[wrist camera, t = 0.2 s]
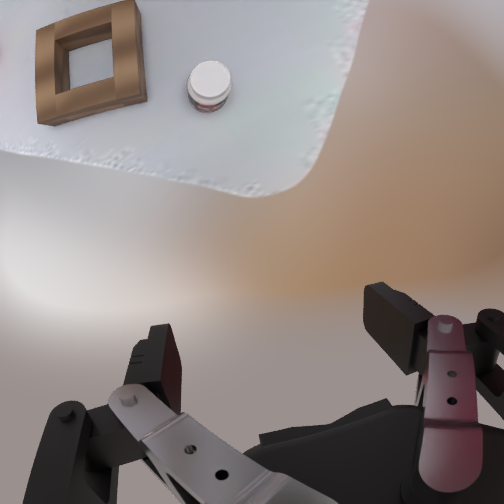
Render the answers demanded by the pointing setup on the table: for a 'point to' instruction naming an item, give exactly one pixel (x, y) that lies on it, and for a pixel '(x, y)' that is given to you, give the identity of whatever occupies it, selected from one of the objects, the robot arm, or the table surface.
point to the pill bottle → (209, 86)
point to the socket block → (98, 93)
